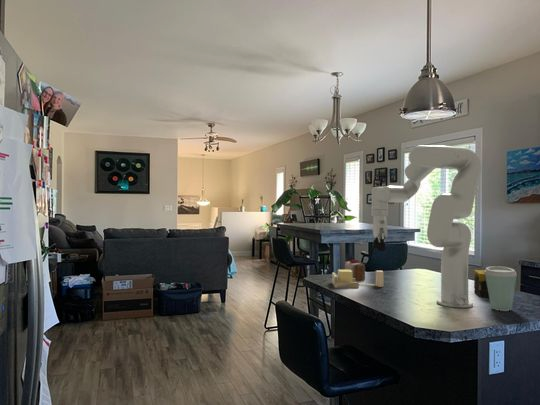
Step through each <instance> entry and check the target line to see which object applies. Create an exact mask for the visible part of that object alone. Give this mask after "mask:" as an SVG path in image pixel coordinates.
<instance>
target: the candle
mask: <svg viewBox="0 0 540 405" xmlns="http://www.w3.org/2000/svg"><path fill="white" fill-rule="evenodd" d="M485 270H486V269H484V270H483V269H480V270H479V269H474V271H473V273H474V275H473V276H474V279H473V280H474V281H473V286H474V287H473V288H474V294H475V295H477V297H479V298H486V299H488V298H489V293H488V287H487V282H486V276H485V274H484V272H485ZM489 299H490V298H489Z"/></svg>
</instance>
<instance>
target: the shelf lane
mask: <svg viewBox="0 0 540 405" xmlns="http://www.w3.org/2000/svg"><path fill="white" fill-rule="evenodd" d="M331 273H332V274H331V276H332V277H331V279H332V280H331V281H332V285H333V287H334V288H335V289H336V288H337V289H339V288H341V289H345V288H346V289H359V287H360V285H359V284H360V282H359V281H355V278H352V282H338V275H337V274H336V272H331Z"/></svg>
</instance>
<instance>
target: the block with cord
mask: <svg viewBox="0 0 540 405" xmlns="http://www.w3.org/2000/svg"><path fill="white" fill-rule="evenodd" d="M384 277H385V276H384V271H383V270H375V283H359V286H370V287H371V286H375V287H377V286H378V287H379V288H381V287H384V281H385V280H384ZM337 278H338V282H352V271H351V270H345V269H337ZM378 287H377V288H378Z"/></svg>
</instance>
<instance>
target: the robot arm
mask: <svg viewBox="0 0 540 405" xmlns="http://www.w3.org/2000/svg"><path fill="white" fill-rule="evenodd" d="M408 161H409V164H408V165H407V166H406V167H405V169H404V175H405V177H406V178H407V181H405V182H404V183H403V184H402V185H385V186H384V185H383V186H374V187H372V188H371V217H373V219H372V220H373V222H372V235H373V249H377V251H378V252H385V251H386V238H388V219H387V217H389V203H393V204H394V203H405V202H407V201H409V200H410V199H411V198H412V197H414V196H415V195H416V194H417V193H418V192H419V189H420V186H421V184H422V183H421V182H422V181H423V180H424V179H425V178H426V177H427V176H428V175H430V173H432V172H433V171H434V170H436V169H444V170H445V169H446V170H456V171H457V173H456V175H454V176H453V177H454V178H453V180H452V183H451V188H450V192H449V193H442V194H439V195H438V196H436V197H435V199H433V202H432V205H431V208H430V212H429V213H430V214H429V218H428V223H427V224H428V226H427V228H426V229H427V230H426V235H427V236H426V237H427V240H428V242H429V244H430V245H432V246H433V247H435V248H442V252H441V255H440V256H441V257H440V258H441V259H440V261H441V263H440V297H438V298H436V303H437V304H439V305H441V306H444V307H450V308H458V309H459V308H461V309H464V308H465V309H467V308H472V307H473V306H474V303H473V301H472V300H469V261H470V260H469V255H470V246H471V241H472V232H471V229H470V227H469V226H468V225H467V224H466V223H464V222H462V221H454V220H461V219H463V220H464V219H466V218H469V216H471V214H472V213H473V208H474V204H475V198H476V193H477V187H478V182H479V179H480V175H481V173H482V172H481V171H482V161H481V158H480V156H478V154H477V153H476V152H474V151H473V150H472V149H468V148H465V147H459V146H450V145H424V144H423V145H422V144H421V145H420V144H419V145H416V146H414V147H413V148H412V149H411V150H410V152H409V153H408Z"/></svg>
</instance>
